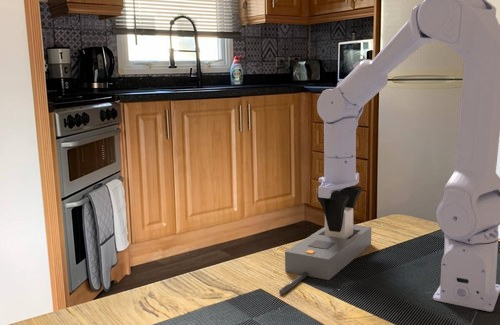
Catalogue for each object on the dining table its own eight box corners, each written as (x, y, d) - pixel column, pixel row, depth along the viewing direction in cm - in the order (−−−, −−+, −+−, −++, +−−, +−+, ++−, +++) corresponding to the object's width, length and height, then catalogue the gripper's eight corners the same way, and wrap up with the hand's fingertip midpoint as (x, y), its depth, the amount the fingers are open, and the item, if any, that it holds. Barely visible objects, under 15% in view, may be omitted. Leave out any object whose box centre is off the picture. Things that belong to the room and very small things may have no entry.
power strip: (304, 300, 75) (304, 277, 74) (258, 290, 79) (257, 267, 79) (371, 244, 99) (371, 225, 98) (332, 238, 103) (332, 220, 103)
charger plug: (345, 239, 93) (345, 213, 92) (324, 236, 95) (324, 210, 94) (353, 233, 96) (353, 208, 95) (333, 231, 98) (333, 205, 98)
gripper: (335, 149, 101) (335, 215, 103) (302, 160, 89) (302, 235, 91) (369, 151, 97) (368, 220, 100) (340, 163, 85) (339, 241, 88)
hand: (339, 227), depth 95 cm, fingers closed on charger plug, 4 cm apart
